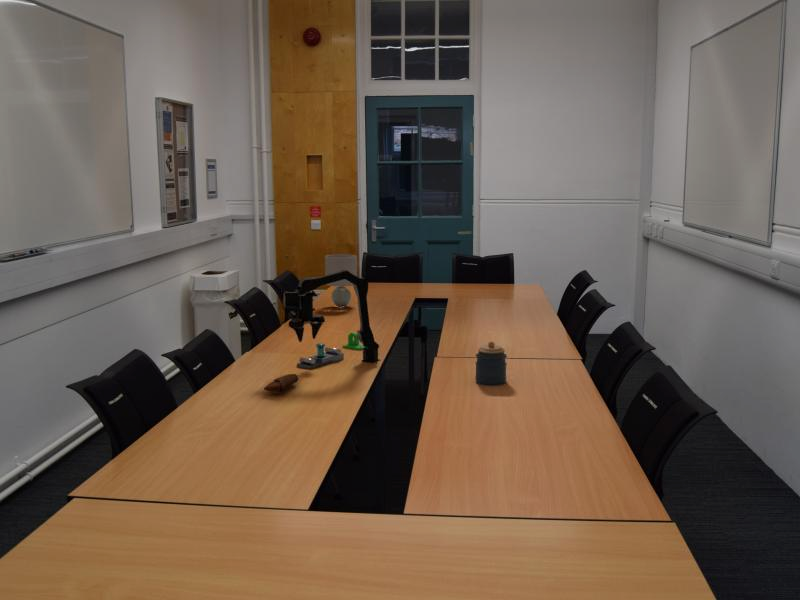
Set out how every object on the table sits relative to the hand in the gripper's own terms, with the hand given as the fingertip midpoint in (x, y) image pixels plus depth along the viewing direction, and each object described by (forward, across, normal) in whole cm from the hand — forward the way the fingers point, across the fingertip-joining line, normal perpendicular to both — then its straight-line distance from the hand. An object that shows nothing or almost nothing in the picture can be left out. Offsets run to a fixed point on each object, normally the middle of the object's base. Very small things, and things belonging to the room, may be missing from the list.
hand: (307, 340), depth 367 cm
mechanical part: (+12, -41, -4) cm, 43 cm away
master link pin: (+12, -8, +1) cm, 14 cm away
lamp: (+12, -129, -84) cm, 154 cm away
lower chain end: (+12, -8, +1) cm, 14 cm away
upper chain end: (+12, -8, +1) cm, 14 cm away
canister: (+12, -21, +83) cm, 86 cm away
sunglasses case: (+13, +36, +15) cm, 41 cm away
